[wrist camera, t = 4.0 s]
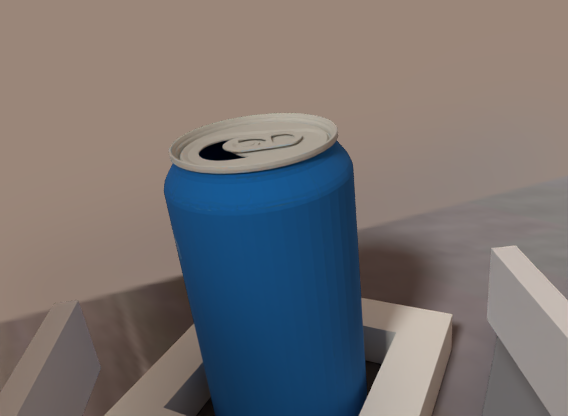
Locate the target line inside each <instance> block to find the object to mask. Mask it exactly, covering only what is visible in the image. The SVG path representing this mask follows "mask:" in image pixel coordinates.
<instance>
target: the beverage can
mask: <svg viewBox="0 0 568 416" xmlns="http://www.w3.org/2000/svg"><path fill="white" fill-rule="evenodd" d="M337 138H338V130H337V126H336V125H335V124H334V123H333V122H332V121H330V120H328V119H326V118H323V117H319V116H315V115H309V114H298V113H273V114H261V115H252V116H245V117H239V118H233V119H228V120H224V121H220V122H216V123H212V124H209V125H206V126H203V127H200V128H198V129H195V130H193V131H190V132H188V133H186V134H184V135H182V136H181V137H179V138H178V139H177V140H175V141H174V142H173V143H172V144H171V146H170V148H169V156H170V159H171V161H172V163H173V164H172V166H171V168H170V170H169V172H168V175H167V177H166V179H165V184H164V195H165V199H166V203H167V208H168V212H169V216H170V221H171V225H172V230H173V234H174V238H175V243H176V247H177V251H178V256H179V260H180V264H181V268H182V273H183V277H184V282H185V286H186V290H187V295H188V299H189V304H190V308H191V312H192V317H193V321H194V325H195V330H196V334H197V338H198V343H199V347H200V351H201V356H202V360H203V365H204V369H205V373H206V378H207V382H208V386H209V391H210V395H211V399H212V404H213V408H214V412H215V416H359V414H360V412H361V410H362V408H363V405H364V403H365V401H366V397H367V383H366V367H365V351H364V334H363V318H362V302H361V286H360V270H359V254H358V238H357V221H356V207H355V190H354V173H353V164H352V161H351V159H350V157H349V155H348V153H347V151H346V150H345V149H344V148H343V147H342V146H341V145H340V144H339V142H338V141H337Z"/></svg>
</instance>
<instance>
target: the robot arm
mask: <svg viewBox="0 0 568 416" xmlns="http://www.w3.org/2000/svg"><path fill="white" fill-rule="evenodd" d="M487 320H488V322H489V323H490V325H491V326H492V328H493V329H494V331H495V332H496V334H497V335H498V337H499V338H500V340H501V341H502V343H503V344H504V346H505V347H506V349H507V350H508V352H509V353H510V355H511V356H512V358H513V359H514V361H515V362H516V364H517V365H518V367H519V368H520V370H521V371H522V373H523V374H524V376H525V377H526V379H527V380H528V382H529V383H530V385H531V386H532V388H533V389H534V391H535V392H536V394H537V395H538V397H539V398H540V400H541V401H542V403H543V404H544V406H545V407H546V409H547V410H548V412H549V413H550V415H551V416H568V300H567V299H566V298H565V297H564V296H563V295H562V294H561V293H560V292H559V291H558V290H557V289H556V288H555V287H554V286H553V285H552V283H551V282H550V281H549V280H548V279H547V278H546V277H545V276H544V275H543V274H542V273H541V272H540V271H539V270H538V269H537V268H536V267H535V266H534V265H533V263H532V262H531V261H530V260H529V259H528V258H527V257H526V256H525V255H524V254H523V253H522V252H521V251H520V250H519V249H518V248H517V247H516V246H507V247H499V248H491V261H490V277H489V293H488V309H487ZM100 369H101V366H100V363H99V360H98V357H97V354H96V351H95V348H94V345H93V342H92V339H91V336H90V334H89V331H88V328H87V325H86V322H85V319H84V316H83V313H82V310H81V307H80V304H79V301H78V300H75V301H68V302H60V303H54V304H53V306H52V308H51V309H50V311H49V313H48V314H47V316H46V318H45V319H44V321H43V323H42V324H41V326H40V328H39V329H38V331H37V333H36V334H35V336H34V338H33V339H32V341H31V343H30V344H29V346H28V347H27V349H26V351H25V352H24V354H23V356H22V357H21V359H20V361H19V362H18V364H17V366H16V367H15V369H14V371H13V372H12V374H11V376H10V377H9V379H8V381H7V382H6V384H5V386H4V387H3V389H2V391H1V392H0V416H83V413H84V410H85V408H86V405H87V403H88V400H89V398H90V395H91V392H92V390H93V387H94V385H95V382H96V379H97V377H98V374H99V372H100Z"/></svg>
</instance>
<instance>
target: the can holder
mask: <svg viewBox="0 0 568 416" xmlns="http://www.w3.org/2000/svg"><path fill="white" fill-rule="evenodd" d="M361 302H362V318H363V334H364V351H365V360H367V361H371V362H375V363H379V364H382V365H381V368H380V370H379V372H378V374H377V376H376V379H375V381H374V383H373V385H372V388H371V390H370V392H369V394H368V396H367V399H366V401H365V403H364V405H363V408H362V410H361V412H360V414H359V416H432V412H433V409H434V406H435V402H436V399H437V396H438V392H439V389H440V386H441V383H442V379H443V376H444V373H445V369H446V366H447V363H448V359H449V356H450V353H451V349H452V314H448V313H442V312H437V311H431V310H426V309H420V308H415V307H409V306H404V305H398V304H393V303H388V302H382V301H377V300H371V299H366V298H361ZM210 397H211V395H210V391H209V386H208V382H207V378H206V373H205V369H204V365H203V360H202V356H201V351H200V347H199V343H198V338H197V334H196V330H195V325H194V324H193V325H192V326H191V327H190V328H189V329H188V330H187V331H186V332H185V333H184V334H183V335H182V336H181V337H180V338H179V339H178V340H177V341H176V342H175V343H174V344H173V345H172V346H171V347H170V348H169V349H168V351H167V352H166V353H165V354H164V355H163V356H162V357H161V358H160V359H159V360H158V361H157V362H156V363H155V364H154V365H153V366H152V367H151V368H150V369H149V370H148V371H147V372H146V373H145V374H144V375H143V376H142V377H141V378H140V379H139V380H138V381H137V382H136V383H135V384H134V385H133V386H132V387H131V388H130V389H129V390H128V392H127V393H126V394H125V395H124V396H123V397H122V398H121V399H120V400H119V401H118V402H117V403H116V404H115V405H114V406H113V407H112V408H111V409H110V410H109V411H108V412H107V413H106V414H105V415H104V416H196V415H197V414H198V413H199V411H200V410H201V409H202V407H203V406H204V405H205V404H206V402H207V401H208V400H209V399H210Z"/></svg>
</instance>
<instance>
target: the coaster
mask: <svg viewBox="0 0 568 416" xmlns="http://www.w3.org/2000/svg"><path fill="white" fill-rule="evenodd" d="M482 416H551V415H550V413H549V412H548V410H547V409H546V407H545V406H544V404H543V403H542V401H541V400H540V398H539V397H538V395H537V394H536V392H535V391H534V389H533V388H532V386H531V385H530V383H529V382H528V380H527V379H526V377H525V376H524V374H523V373H522V371H521V370H520V368H519V367H518V365H517V364H516V362H515V361H514V359H513V358H512V356H511V355H510V353H509V352H508V350H507V349H506V347H505V346H504V344H503V343H502V341H501V340H500V338H499V337H498V336H497V341H496V346H495V351H494V356H493V361H492V366H491V371H490V376H489V381H488V386H487V391H486V396H485V401H484V406H483V411H482Z"/></svg>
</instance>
